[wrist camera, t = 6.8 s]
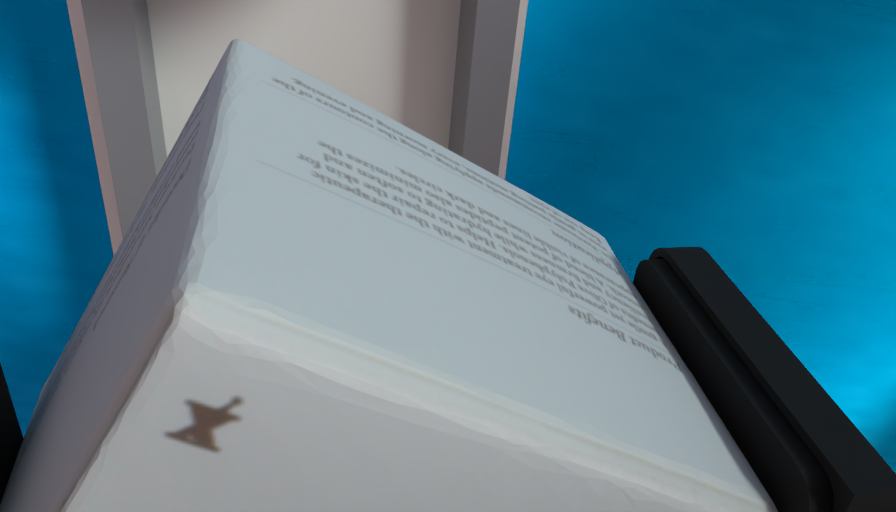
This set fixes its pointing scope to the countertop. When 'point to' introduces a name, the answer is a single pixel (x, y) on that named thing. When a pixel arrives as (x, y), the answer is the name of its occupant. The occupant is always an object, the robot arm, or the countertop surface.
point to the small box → (362, 338)
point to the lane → (305, 47)
